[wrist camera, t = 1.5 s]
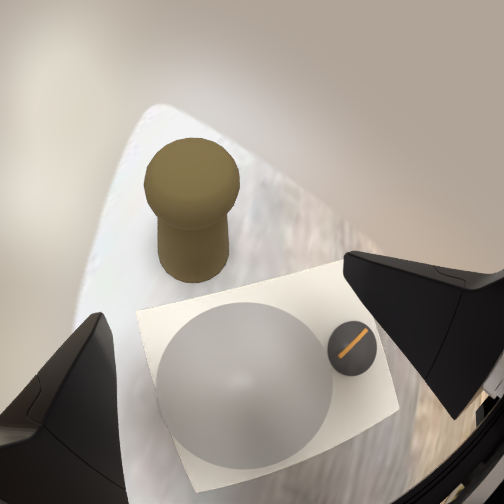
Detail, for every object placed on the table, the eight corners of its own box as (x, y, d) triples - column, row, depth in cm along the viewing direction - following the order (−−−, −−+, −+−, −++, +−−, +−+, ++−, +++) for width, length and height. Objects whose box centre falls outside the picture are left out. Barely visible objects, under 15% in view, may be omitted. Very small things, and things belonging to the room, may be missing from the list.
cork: (195, 204, 24) (198, 108, 14) (244, 249, 24) (277, 167, 14) (143, 246, 22) (109, 162, 12) (191, 298, 21) (184, 241, 11)
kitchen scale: (372, 404, 20) (405, 409, 16) (196, 471, 16) (195, 497, 12) (329, 272, 24) (355, 253, 20) (146, 320, 20) (132, 309, 16)
